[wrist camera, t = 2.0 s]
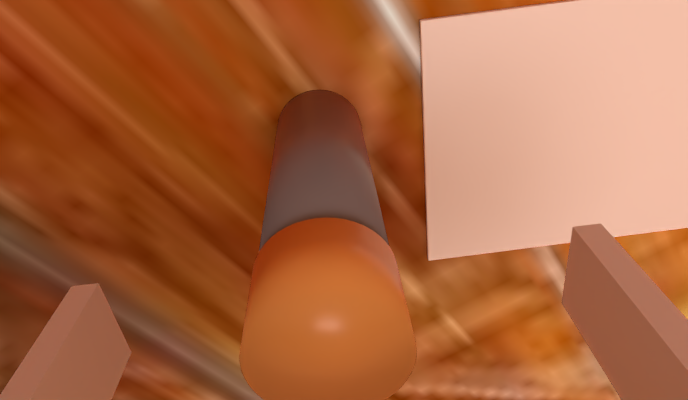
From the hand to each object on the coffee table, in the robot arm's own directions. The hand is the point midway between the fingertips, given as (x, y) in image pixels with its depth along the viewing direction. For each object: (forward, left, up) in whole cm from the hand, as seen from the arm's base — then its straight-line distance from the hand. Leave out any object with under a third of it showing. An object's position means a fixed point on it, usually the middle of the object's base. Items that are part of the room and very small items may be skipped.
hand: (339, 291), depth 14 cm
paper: (+14, -2, -11) cm, 18 cm away
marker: (0, 0, -11) cm, 11 cm away
